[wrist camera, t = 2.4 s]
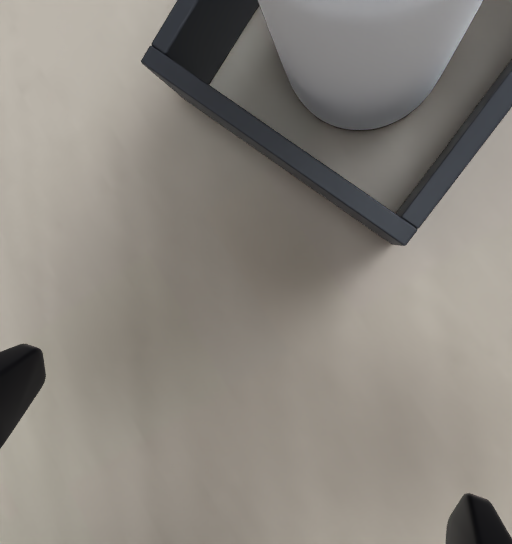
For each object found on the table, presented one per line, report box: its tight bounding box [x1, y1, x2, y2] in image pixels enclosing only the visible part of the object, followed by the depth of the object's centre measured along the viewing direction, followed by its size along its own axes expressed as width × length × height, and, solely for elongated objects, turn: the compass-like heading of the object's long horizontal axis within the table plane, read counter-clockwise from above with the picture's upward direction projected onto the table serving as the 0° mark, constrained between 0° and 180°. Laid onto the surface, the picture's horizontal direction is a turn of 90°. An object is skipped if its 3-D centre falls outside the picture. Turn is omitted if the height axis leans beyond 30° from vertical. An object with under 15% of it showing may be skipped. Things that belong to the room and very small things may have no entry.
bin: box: [141, 0, 512, 246], centre depth 17 cm, size 11×11×4 cm
